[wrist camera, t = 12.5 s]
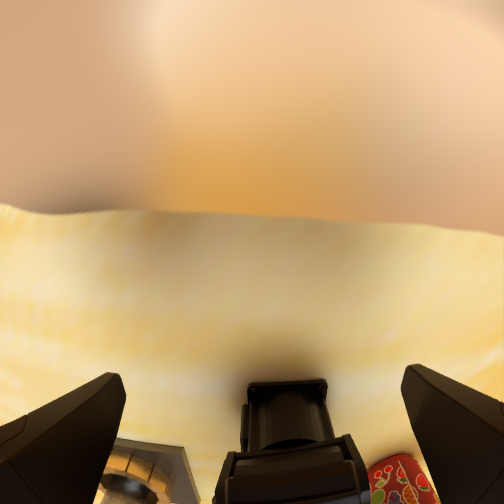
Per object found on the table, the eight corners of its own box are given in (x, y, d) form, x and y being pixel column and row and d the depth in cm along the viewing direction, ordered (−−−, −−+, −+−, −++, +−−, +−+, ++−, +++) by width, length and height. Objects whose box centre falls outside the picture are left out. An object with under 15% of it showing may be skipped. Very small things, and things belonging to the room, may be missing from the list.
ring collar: (183, 447, 26) (177, 472, 22) (200, 500, 29) (197, 521, 25) (69, 427, 26) (56, 446, 23) (102, 483, 29) (94, 500, 26)
